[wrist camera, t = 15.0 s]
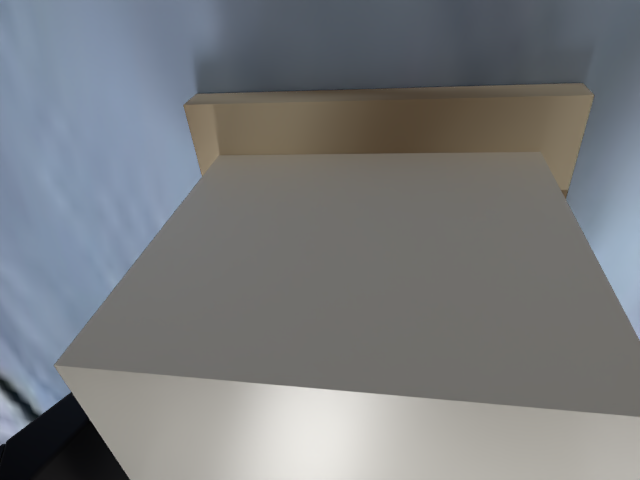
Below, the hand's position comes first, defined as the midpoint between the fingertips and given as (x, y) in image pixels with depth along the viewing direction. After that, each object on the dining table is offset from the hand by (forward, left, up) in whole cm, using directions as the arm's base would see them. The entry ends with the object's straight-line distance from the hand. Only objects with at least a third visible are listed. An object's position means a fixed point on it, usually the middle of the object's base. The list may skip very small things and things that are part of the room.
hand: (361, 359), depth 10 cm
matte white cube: (0, -1, -4) cm, 4 cm away
